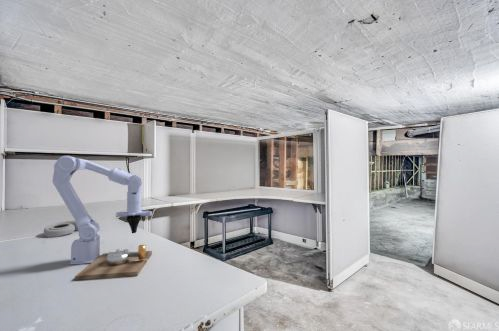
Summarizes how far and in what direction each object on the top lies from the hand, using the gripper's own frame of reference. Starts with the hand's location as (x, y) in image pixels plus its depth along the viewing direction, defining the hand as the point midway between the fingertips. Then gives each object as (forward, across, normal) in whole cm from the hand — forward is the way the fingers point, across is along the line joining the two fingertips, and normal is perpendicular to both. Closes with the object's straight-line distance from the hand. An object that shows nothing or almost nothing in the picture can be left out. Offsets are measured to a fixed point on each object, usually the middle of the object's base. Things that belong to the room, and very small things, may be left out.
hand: (134, 232), depth 108 cm
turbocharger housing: (+10, -53, +44) cm, 69 cm away
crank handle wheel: (+8, +1, -13) cm, 15 cm away
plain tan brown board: (+9, -2, -13) cm, 16 cm away
